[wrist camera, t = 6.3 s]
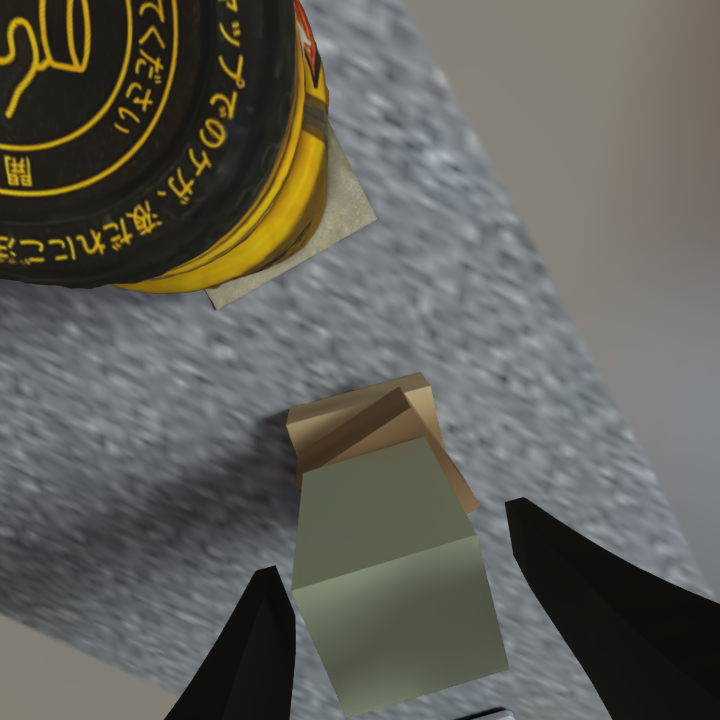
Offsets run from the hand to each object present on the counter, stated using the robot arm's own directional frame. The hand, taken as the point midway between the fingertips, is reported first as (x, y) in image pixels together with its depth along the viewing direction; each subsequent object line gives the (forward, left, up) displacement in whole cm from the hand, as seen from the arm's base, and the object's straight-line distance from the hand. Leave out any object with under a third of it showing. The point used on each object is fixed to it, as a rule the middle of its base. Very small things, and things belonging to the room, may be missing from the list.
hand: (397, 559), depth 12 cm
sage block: (0, 0, -3) cm, 3 cm away
